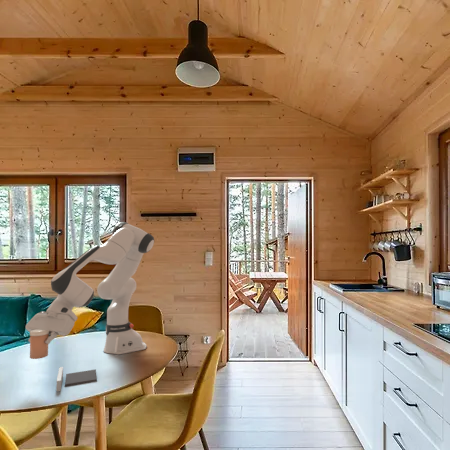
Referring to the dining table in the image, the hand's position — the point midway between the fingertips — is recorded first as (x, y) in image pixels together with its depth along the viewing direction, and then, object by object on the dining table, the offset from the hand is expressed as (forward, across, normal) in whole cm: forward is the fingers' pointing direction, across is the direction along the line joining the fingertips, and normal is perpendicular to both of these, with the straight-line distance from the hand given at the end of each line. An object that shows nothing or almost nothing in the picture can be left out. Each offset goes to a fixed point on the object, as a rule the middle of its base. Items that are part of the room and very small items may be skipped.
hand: (38, 342), depth 130 cm
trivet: (+3, +10, +22) cm, 24 cm away
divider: (+8, +5, +17) cm, 20 cm away
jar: (+3, 0, +4) cm, 5 cm away
